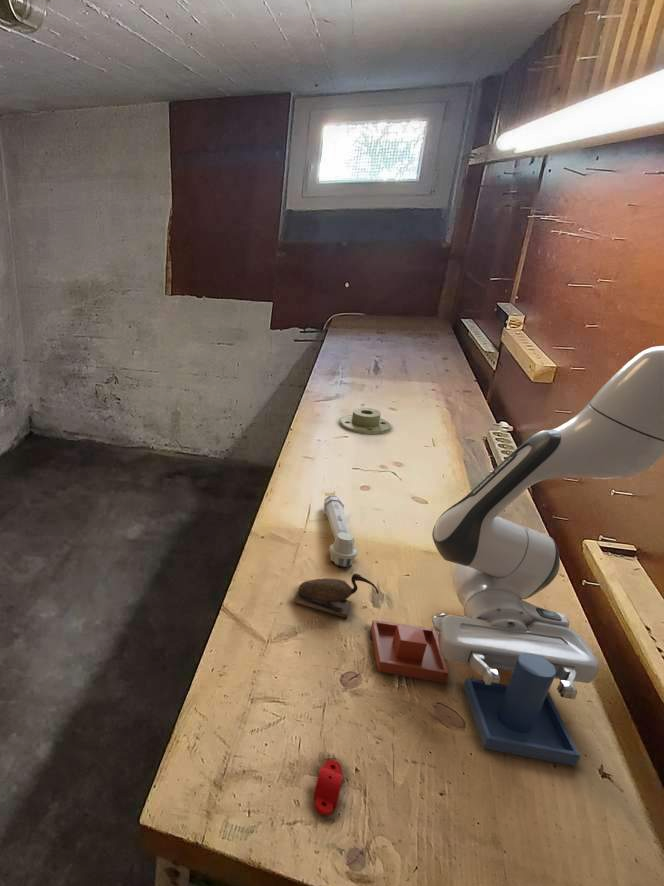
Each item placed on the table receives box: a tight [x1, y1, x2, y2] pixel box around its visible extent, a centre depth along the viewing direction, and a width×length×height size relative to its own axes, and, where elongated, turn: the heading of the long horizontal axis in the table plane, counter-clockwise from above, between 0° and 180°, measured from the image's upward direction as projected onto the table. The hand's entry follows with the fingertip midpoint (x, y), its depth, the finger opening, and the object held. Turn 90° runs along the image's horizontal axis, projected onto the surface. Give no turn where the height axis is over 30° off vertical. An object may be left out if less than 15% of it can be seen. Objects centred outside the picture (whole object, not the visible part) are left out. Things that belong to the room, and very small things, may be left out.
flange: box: [340, 407, 391, 435], centre depth 185 cm, size 5×15×15 cm
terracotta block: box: [393, 623, 427, 662], centre depth 94 cm, size 4×4×4 cm
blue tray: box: [462, 677, 581, 767], centre depth 82 cm, size 11×11×2 cm
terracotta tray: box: [370, 619, 450, 684], centre depth 95 cm, size 10×10×2 cm
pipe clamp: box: [313, 759, 344, 816], centre depth 74 cm, size 8×3×2 cm, turn 151°
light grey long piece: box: [323, 495, 358, 567], centre depth 127 cm, size 5×7×25 cm
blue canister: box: [497, 653, 556, 733], centre depth 80 cm, size 4×4×11 cm
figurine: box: [293, 573, 379, 619], centre depth 105 cm, size 14×4×9 cm, turn 60°
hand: (531, 688), depth 79 cm, fingers open, 8 cm apart
